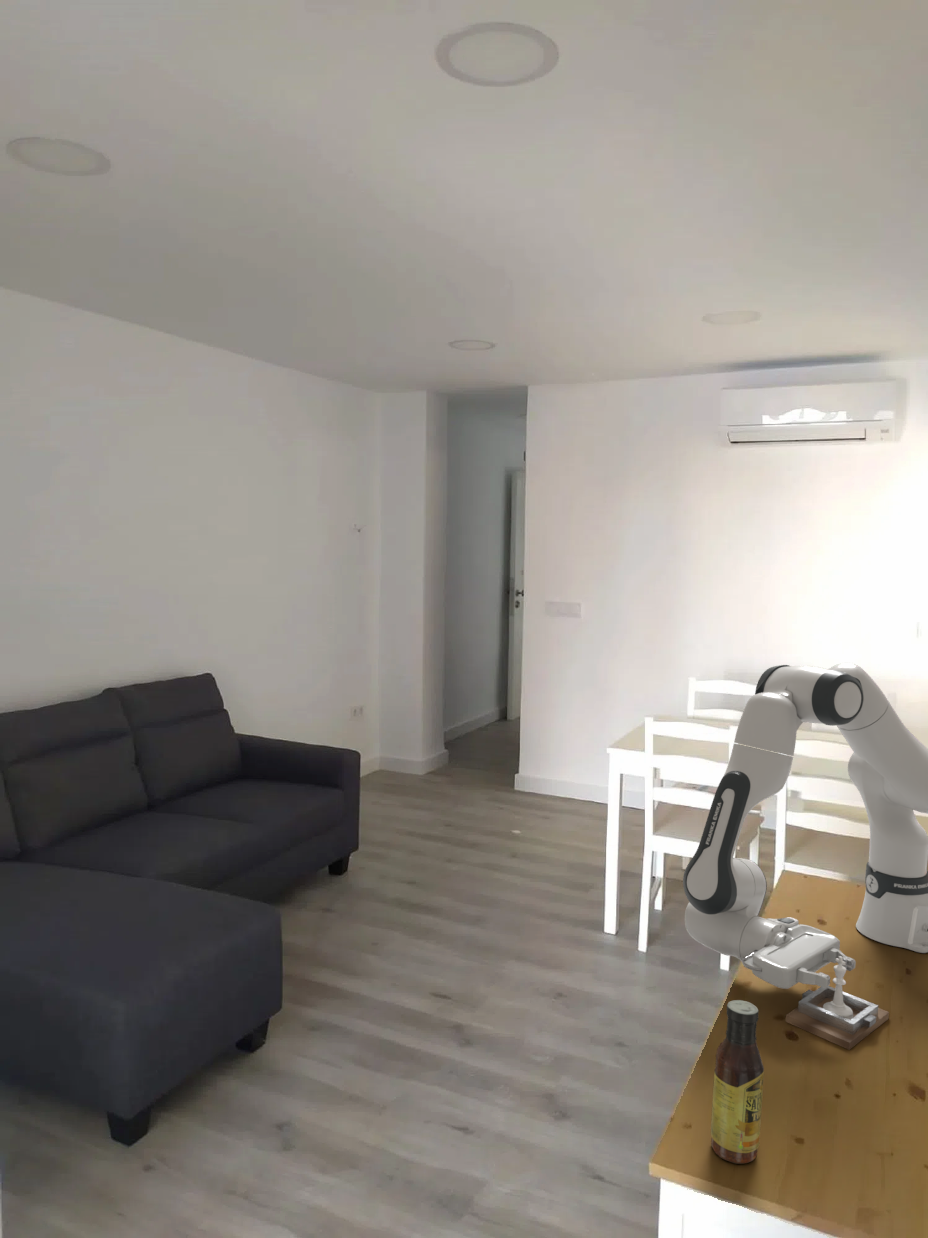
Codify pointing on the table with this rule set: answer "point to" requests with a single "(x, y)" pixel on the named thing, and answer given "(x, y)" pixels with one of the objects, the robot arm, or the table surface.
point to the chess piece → (839, 993)
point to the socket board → (833, 1032)
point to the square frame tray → (850, 1026)
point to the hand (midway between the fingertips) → (841, 974)
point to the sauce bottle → (738, 1087)
